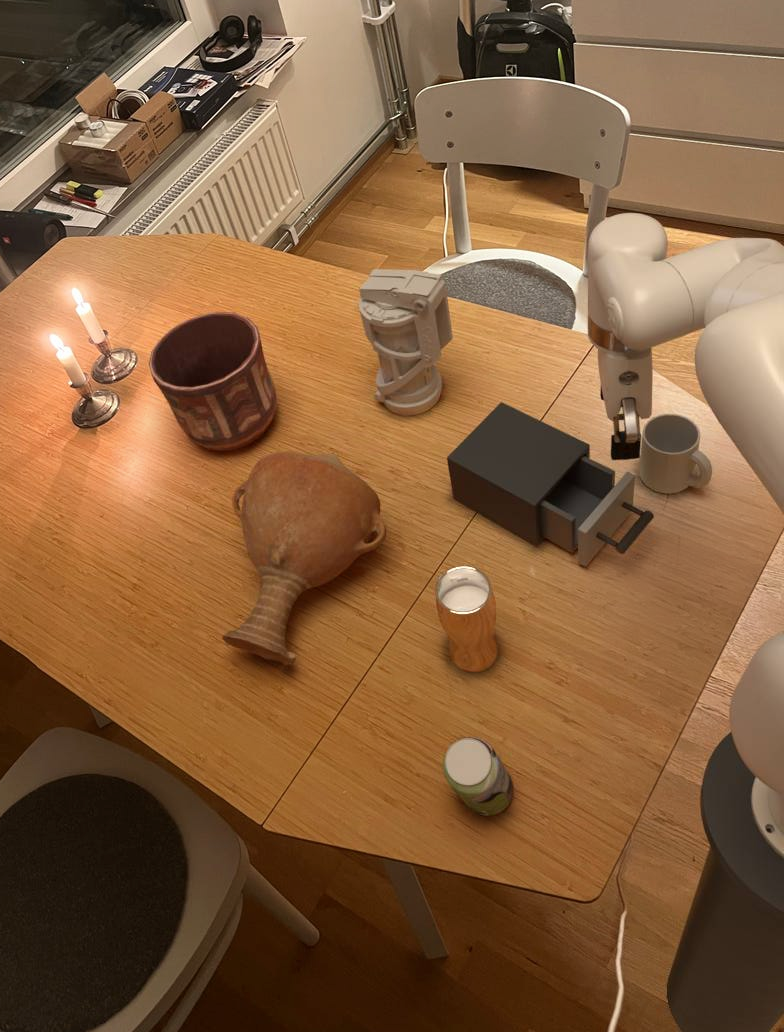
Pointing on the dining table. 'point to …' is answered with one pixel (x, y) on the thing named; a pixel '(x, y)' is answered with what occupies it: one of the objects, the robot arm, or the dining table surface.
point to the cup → (672, 455)
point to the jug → (299, 537)
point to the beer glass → (468, 616)
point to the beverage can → (478, 776)
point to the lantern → (406, 335)
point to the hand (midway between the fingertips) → (619, 426)
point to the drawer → (590, 510)
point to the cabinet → (512, 468)
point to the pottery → (216, 379)
